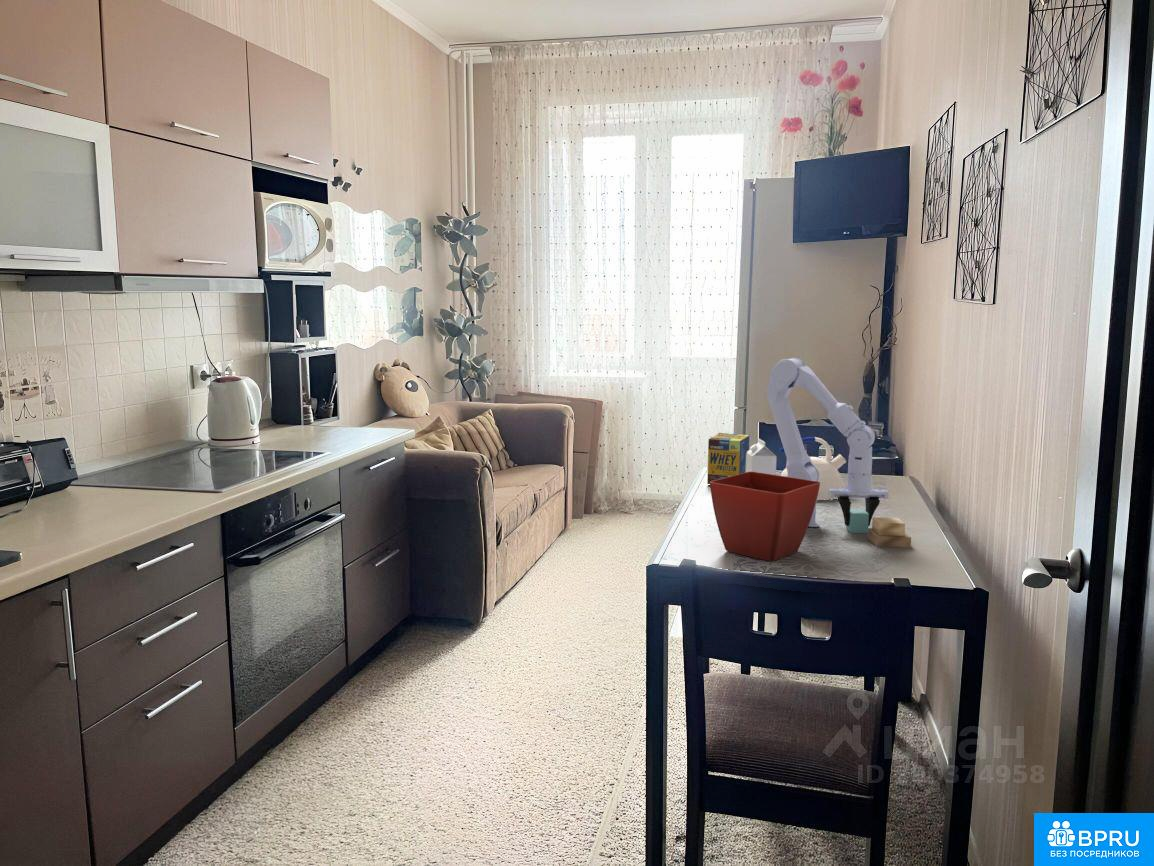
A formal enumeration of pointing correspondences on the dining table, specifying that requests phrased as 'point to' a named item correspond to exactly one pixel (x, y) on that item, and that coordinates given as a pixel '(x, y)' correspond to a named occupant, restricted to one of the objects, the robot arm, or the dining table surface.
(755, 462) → the milk carton
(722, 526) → the plant pot
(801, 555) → the dining table surface
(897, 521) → the oak slab
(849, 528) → the teal block
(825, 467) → the kettle
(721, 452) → the protein box
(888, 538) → the brown square slab
